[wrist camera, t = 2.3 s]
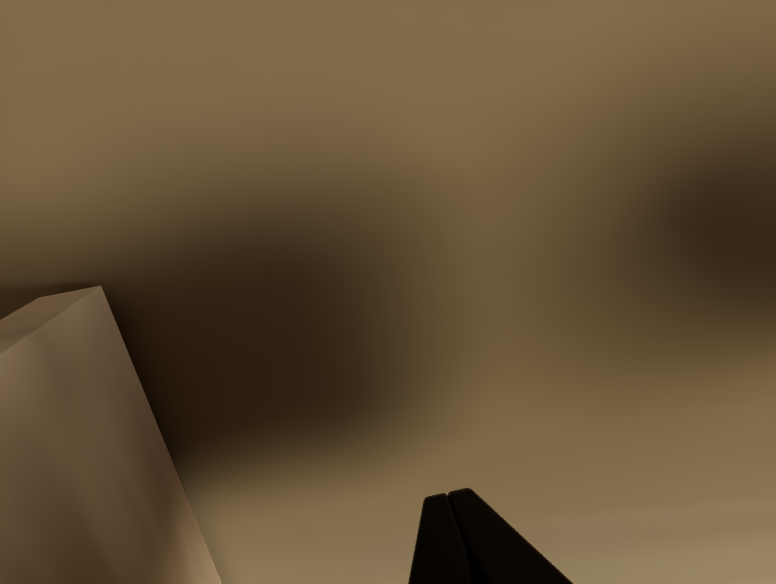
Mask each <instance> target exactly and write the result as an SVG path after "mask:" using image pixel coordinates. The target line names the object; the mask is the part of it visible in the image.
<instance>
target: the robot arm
mask: <svg viewBox="0 0 776 584" xmlns="http://www.w3.org/2000/svg"><path fill="white" fill-rule="evenodd" d="M408 584H573V583H572V582H571V581H570V580H569V579H568V578H566V577H565V576H564V575H563V574H562V573H561V572H560V571H559V570H558V569H557V568H556V567H555V566H554V565H552V564H551V563H550V562H549V561H548V560H547V559H546V558H545V557H544V556H543V555H542V554H541V553H540V552H538V551H537V550H536V549H535V548H534V547H533V546H532V545H531V544H530V543H529V542H528V541H527V540H526V539H524V538H523V537H522V536H521V535H520V534H519V533H518V532H517V531H516V530H515V529H514V528H513V527H512V526H510V525H509V524H508V523H507V522H506V521H505V520H504V519H503V518H502V517H501V516H500V515H499V514H498V513H497V512H495V511H494V510H493V509H492V508H491V507H490V506H489V505H488V504H487V503H486V502H485V501H484V500H483V499H481V498H480V497H479V496H478V495H477V494H476V493H475V492H474V491H473V490H472V489H470V488H464V489H459V490H455V491H451V492H449V494H448V496H447V495H446V494H445V493H441V494H437V495H433V496H428V497H426V498H425V499H424V502H423V507H422V513H421V518H420V523H419V529H418V534H417V539H416V545H415V550H414V556H413V561H412V566H411V572H410V577H409V582H408Z"/></svg>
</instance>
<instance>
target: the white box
mask: <svg viewBox="0 0 776 584" xmlns="http://www.w3.org/2000/svg"><path fill="white" fill-rule="evenodd" d="M0 584H222V583H221V580H220V578H219V575H218V573H217V570H216V568H215V565H214V563H213V561H212V558H211V556H210V553H209V551H208V548H207V546H206V543H205V541H204V538H203V536H202V533H201V531H200V528H199V526H198V524H197V521H196V519H195V516H194V514H193V511H192V509H191V506H190V504H189V501H188V499H187V496H186V494H185V491H184V489H183V487H182V484H181V482H180V479H179V477H178V474H177V472H176V469H175V467H174V464H173V462H172V459H171V457H170V455H169V452H168V450H167V447H166V445H165V442H164V440H163V437H162V435H161V432H160V430H159V427H158V425H157V422H156V420H155V418H154V415H153V413H152V410H151V408H150V405H149V403H148V400H147V398H146V395H145V393H144V390H143V388H142V385H141V383H140V381H139V378H138V376H137V373H136V371H135V368H134V366H133V363H132V361H131V358H130V356H129V353H128V351H127V349H126V346H125V344H124V341H123V339H122V336H121V334H120V331H119V329H118V326H117V324H116V321H115V319H114V316H113V314H112V312H111V309H110V307H109V304H108V302H107V299H106V297H105V294H104V292H103V289H102V287H101V286H96V287H91V288H86V289H80V290H75V291H70V292H65V293H60V294H54V295H49V296H44V297H39V298H37V299H35V300H34V301H32V302H30V303H29V304H27V305H25V306H23V307H22V308H20V309H18V310H16V311H15V312H13V313H11V314H9V315H8V316H6V317H4V318H2V319H1V320H0Z"/></svg>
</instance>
